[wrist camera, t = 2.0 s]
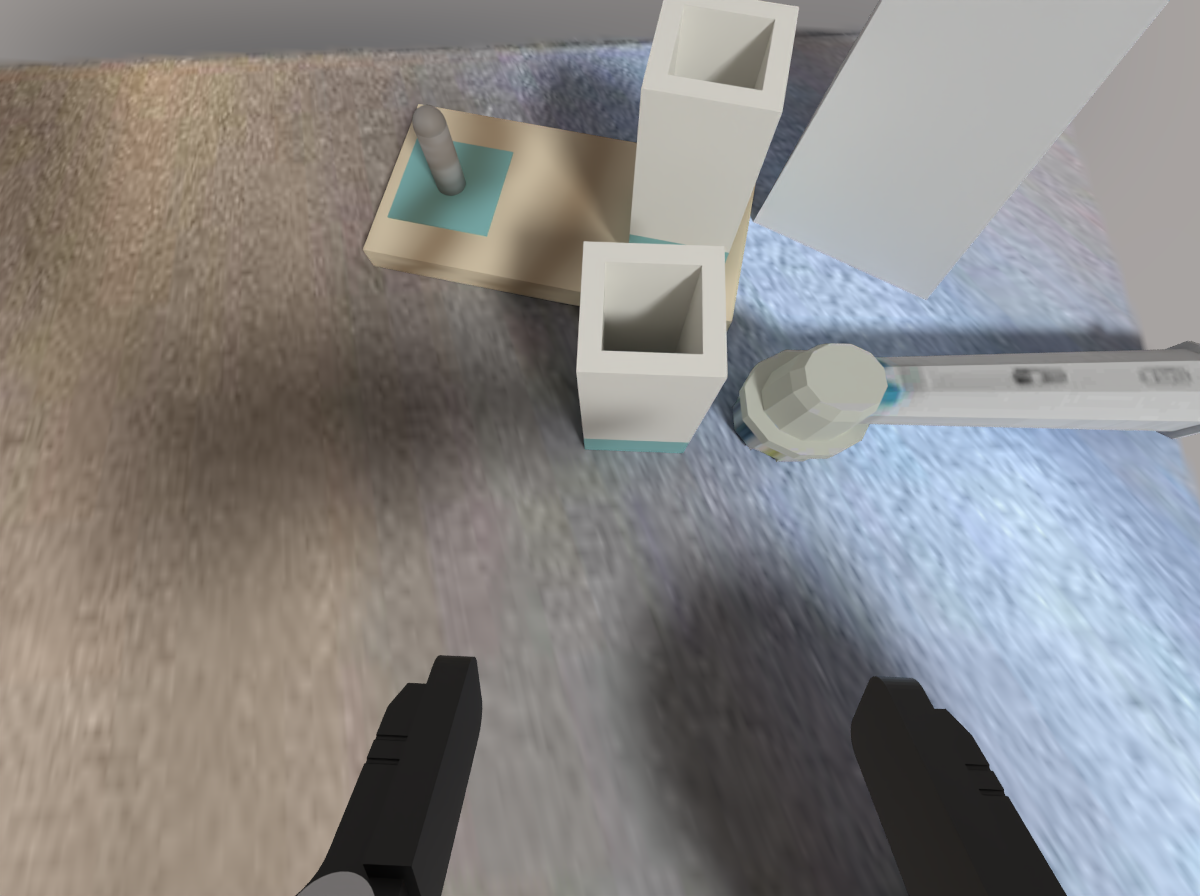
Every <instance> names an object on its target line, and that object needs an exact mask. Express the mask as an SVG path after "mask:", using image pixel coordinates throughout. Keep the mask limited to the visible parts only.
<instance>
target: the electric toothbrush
mask: <svg viewBox="0 0 1200 896" xmlns="http://www.w3.org/2000/svg"><path fill="white" fill-rule="evenodd" d="M732 410H733V419H734V428H735V431H736V432H737V434H738V435H739V436H740V437H741V439H742V440H743V441H744V442H745V444H746V445H747V446H748V447H749V449H750V450H752V449H753V448H754V449H756V450H758V451H760V452H762V453H765V454H767V455H769V456H771V457H773V458H776V462H790V461H805V460H807V459H827V458H830V457H832V456H834V455H836V454H838V453H840V452H841V451H843V450H845V449H847V448H849V447H850V446H852V445H854V444H856V443H858V442H859V441H861V440H862V439H863V437H864V435H865V433H866V430H867V428H868V426H869V424H891V425H931V426H972V427H1013V428H1053V429H1094V430H1135V431H1156V432H1158V433H1161V434H1163V435H1165V436H1167V437H1169V438H1171V439H1178V438H1183V437H1187V436H1191V435H1195V434H1199V433H1200V344H1199V343H1195V342H1192V341H1191V342H1190V341H1189V342H1188V341H1186V342H1183V343H1181V344H1178V345H1176V346H1173V347H1170V348H1168V349H1165V350H1129V351H1092V352H1056V353H1019V354H983V355H946V356H910V357H874V356H873V355H872V354H871V353H870V352H868V351H866V350H863V349H861V348H859V347H857V346H855V345H853V344H834V343H829V344H821V345H817V346H815V347H813V348H811V349H809V350H784V351H782V352H780V353H778V354H776V355H774V356H772V357H770V358H767V359H765V360H763V361H761V362H759V363H758V364H757V365H756V366H755V367H754V368H753V369H752V371H751V372H750V374H749V376H748V378H747V379H746V381H745V383H744V384H743V386H742V388H741V389H740V391H739V397H738V399H737V400H736V402H735V404H734V405H733V407H732Z"/></svg>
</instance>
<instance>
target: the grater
mask: <svg viewBox="0 0 1200 896" xmlns="http://www.w3.org/2000/svg"><path fill="white" fill-rule="evenodd" d="M1169 1H1170V0H879V1H878V3H877V5H876V7H875V8H874V10H873V12H872V13H871V15H870V17H869V19H868V21H867V22H866V24H865V25H864V27H863V29H862V31H861V32H860V34H859V36H858V37H857V39H856V41H855V43H854V44H853V46H852V48H851V49H850V51H849V53H848V55H847V56H846V58H845V60H844V62H843V63H842V65H841V67H840V68H839V70H838V72H837V74H836V75H835V77H834V79H833V81H832V82H831V84H830V86H829V87H828V89H827V91H826V93H825V94H824V96H823V97H824V98H822V99H823V100H821V101H820V103H819V104H820V105H818V106H819V107H817V109H816V110H815V112H814V113H815V114H813V115H814V116H812V118H811V119H810V121H809V122H810V123H808V124H809V125H807V127H806V128H805V130H804V131H805V132H803V133H804V134H802V136H801V137H800V139H799V140H800V141H798V142H799V143H797V144H796V146H795V148H794V149H795V150H793V151H794V152H792V153H793V154H792V153H791V155H790V156H791V157H789V158H790V159H788V161H787V162H786V164H785V166H784V168H783V170H782V171H781V173H780V175H779V177H778V179H777V180H776V182H775V184H774V186H773V187H772V189H771V191H770V193H769V195H768V196H767V198H766V200H765V202H764V204H763V205H762V207H761V209H760V211H759V213H758V214H757V216H756V218H755V220H754V223H757V224H759V225H761V226H763V227H766V228H768V229H770V230H772V231H774V232H777V233H779V234H781V235H783V236H785V237H788V238H790V239H792V240H794V241H796V242H799V243H801V244H803V245H805V246H807V247H810V248H812V249H814V250H816V251H818V252H821V253H823V254H825V255H827V256H830V257H832V258H834V259H836V260H838V261H841V262H843V263H845V264H847V265H849V266H852V267H854V268H856V269H858V270H860V271H863V272H865V273H867V274H869V275H871V276H874V277H876V278H878V279H880V280H883V281H885V282H887V283H889V284H891V285H894V286H896V287H898V288H900V289H902V290H905V291H907V292H909V293H911V294H913V295H916V296H918V297H920V298H922V299H924V300H927V299H928V297H929V296H930V295H931V294H932V292H933V291H934V290H935V289H936V288H937V286H938V285H939V284H940V283H941V281H942V280H943V279H944V278H945V276H946V275H947V274H948V273H949V272H950V270H951V269H952V268H953V267H954V265H955V264H956V263H957V262H958V260H959V259H960V258H961V257H962V256H963V254H964V253H965V252H966V251H967V249H968V248H969V247H970V246H971V244H972V243H973V242H974V241H975V240H976V238H977V237H978V236H979V235H980V233H981V232H982V231H983V230H984V228H985V227H986V226H987V225H988V224H989V222H990V221H991V220H992V219H993V217H994V216H995V215H996V214H997V212H998V211H999V210H1000V209H1001V208H1002V206H1003V205H1004V204H1005V203H1006V201H1007V200H1008V199H1009V198H1010V196H1011V195H1012V194H1013V193H1014V192H1015V190H1016V189H1017V188H1018V187H1019V185H1020V184H1021V183H1022V182H1023V180H1024V179H1025V178H1026V177H1027V175H1028V174H1029V173H1030V172H1031V171H1032V169H1033V168H1034V167H1035V166H1036V164H1037V163H1038V162H1039V161H1040V159H1041V158H1042V157H1043V156H1044V155H1045V153H1046V152H1047V151H1048V150H1049V148H1050V147H1051V146H1052V145H1053V143H1054V142H1055V141H1056V140H1057V139H1058V137H1059V136H1060V135H1061V134H1062V132H1063V131H1064V130H1065V129H1066V127H1067V126H1068V125H1069V124H1070V123H1071V121H1072V120H1073V119H1074V118H1075V116H1076V115H1077V114H1078V113H1079V111H1080V110H1081V109H1082V108H1083V106H1084V105H1085V104H1086V103H1087V101H1088V100H1089V99H1090V98H1091V97H1092V95H1093V94H1094V93H1095V92H1096V90H1097V89H1098V88H1099V87H1100V85H1101V84H1102V83H1103V82H1104V81H1105V79H1106V78H1107V77H1108V76H1109V74H1110V73H1111V72H1112V71H1113V70H1114V68H1115V67H1116V66H1117V65H1118V63H1119V62H1120V61H1121V60H1122V58H1123V57H1124V56H1125V55H1126V54H1127V52H1128V51H1129V50H1130V49H1131V47H1132V46H1133V45H1134V44H1135V42H1136V41H1137V40H1138V39H1139V38H1140V36H1141V35H1142V34H1143V33H1144V31H1145V30H1146V29H1147V28H1148V26H1149V25H1150V24H1151V23H1152V21H1153V20H1154V19H1155V18H1156V17H1157V15H1158V14H1159V13H1160V12H1161V10H1162V9H1163V8H1164V7H1165V5H1166V4H1167V3H1168V2H1169Z"/></svg>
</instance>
